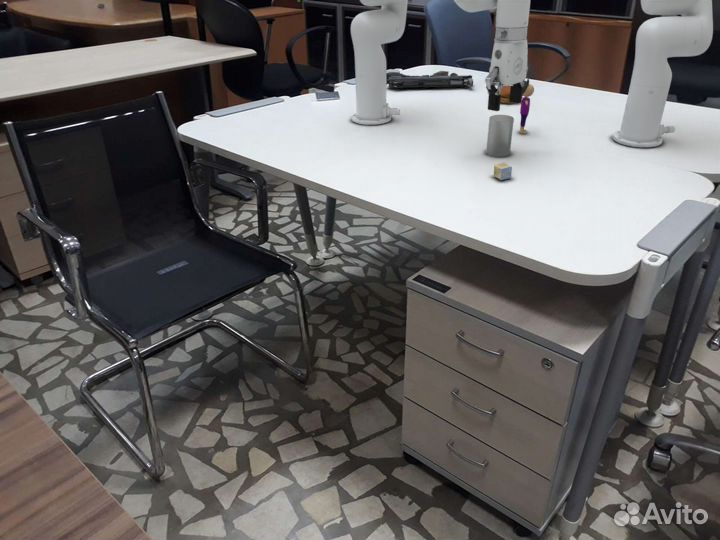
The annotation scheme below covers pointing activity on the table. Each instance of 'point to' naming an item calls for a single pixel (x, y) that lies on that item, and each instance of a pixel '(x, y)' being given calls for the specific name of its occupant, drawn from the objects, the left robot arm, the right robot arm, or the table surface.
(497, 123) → the can
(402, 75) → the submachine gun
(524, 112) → the toy
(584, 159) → the table surface
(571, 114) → the table surface
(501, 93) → the burger
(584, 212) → the table surface
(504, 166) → the alphabet block
